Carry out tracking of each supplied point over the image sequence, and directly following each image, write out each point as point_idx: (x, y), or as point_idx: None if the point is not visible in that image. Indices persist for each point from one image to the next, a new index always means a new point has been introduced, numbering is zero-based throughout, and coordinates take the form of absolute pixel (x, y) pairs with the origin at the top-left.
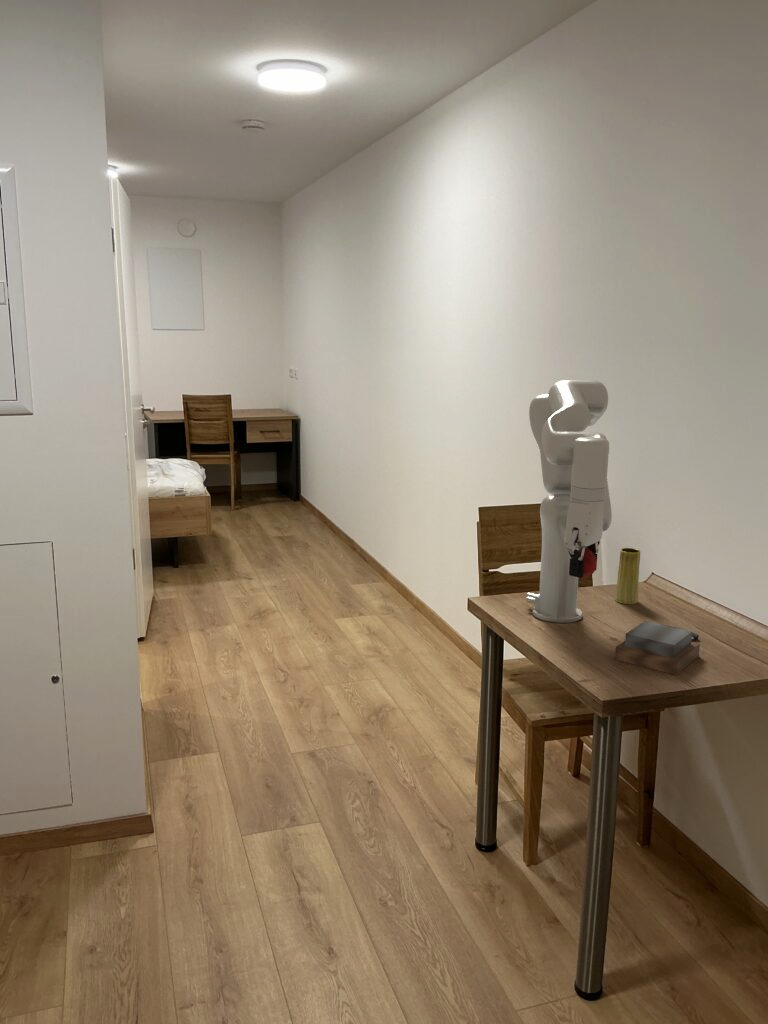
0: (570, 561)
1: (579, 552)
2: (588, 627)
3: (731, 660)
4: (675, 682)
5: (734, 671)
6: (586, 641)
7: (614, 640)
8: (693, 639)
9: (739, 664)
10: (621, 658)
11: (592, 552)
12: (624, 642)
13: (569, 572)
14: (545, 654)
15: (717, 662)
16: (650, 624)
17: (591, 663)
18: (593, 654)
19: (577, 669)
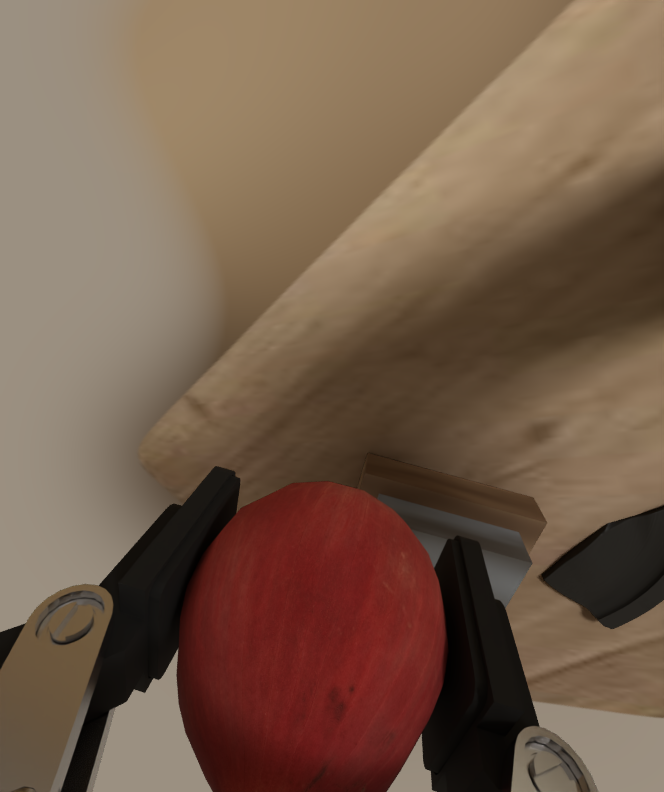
0: (143, 556)
1: (200, 724)
2: (647, 343)
3: None
4: None
5: None
6: (487, 363)
7: (526, 437)
8: (591, 610)
9: None
10: (362, 471)
11: (449, 783)
12: (411, 490)
13: (209, 477)
14: (314, 269)
15: None
16: (499, 576)
17: (311, 404)
18: (380, 399)
19: (252, 379)
